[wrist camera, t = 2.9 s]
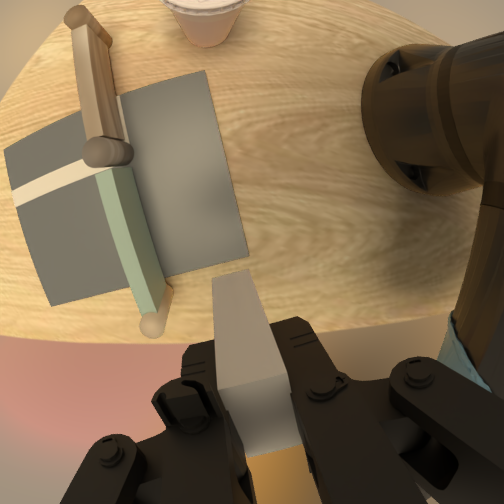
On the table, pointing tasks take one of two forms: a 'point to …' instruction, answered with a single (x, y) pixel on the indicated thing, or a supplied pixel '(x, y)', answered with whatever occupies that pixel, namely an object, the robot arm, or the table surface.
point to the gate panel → (135, 248)
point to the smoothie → (205, 19)
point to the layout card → (148, 185)
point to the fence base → (96, 92)
